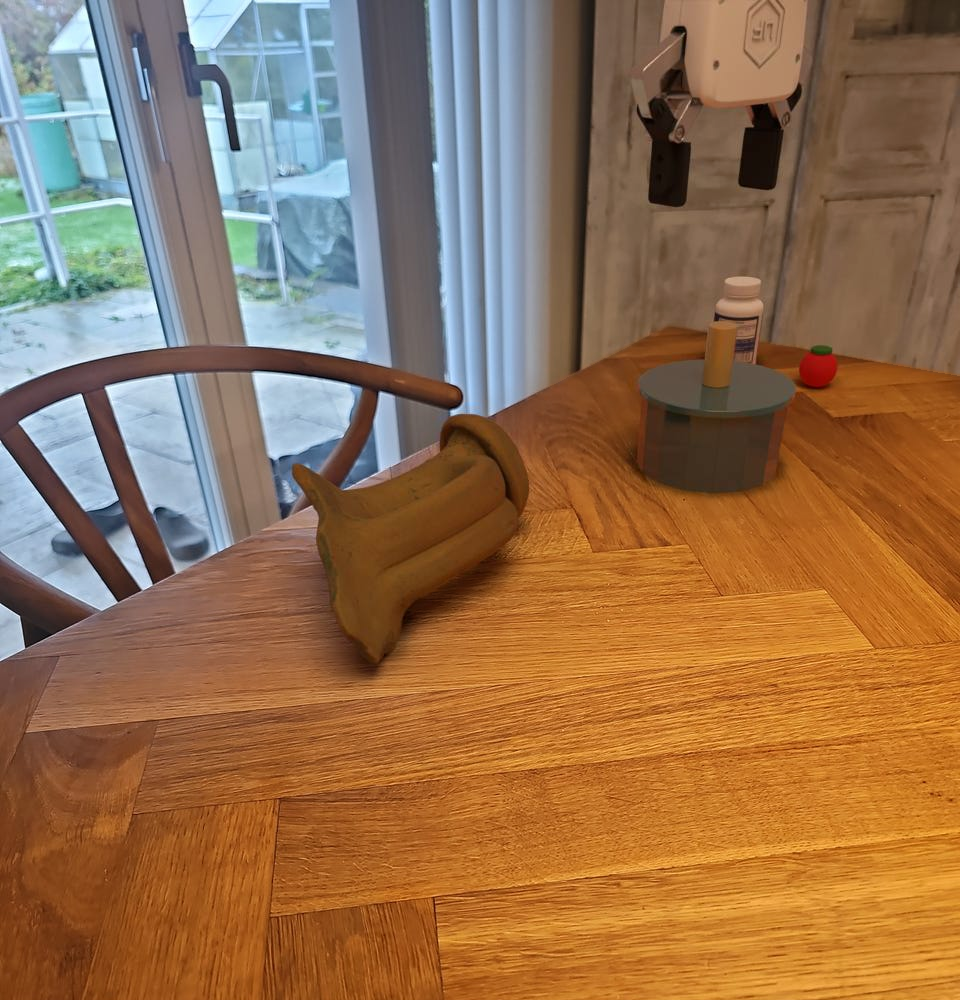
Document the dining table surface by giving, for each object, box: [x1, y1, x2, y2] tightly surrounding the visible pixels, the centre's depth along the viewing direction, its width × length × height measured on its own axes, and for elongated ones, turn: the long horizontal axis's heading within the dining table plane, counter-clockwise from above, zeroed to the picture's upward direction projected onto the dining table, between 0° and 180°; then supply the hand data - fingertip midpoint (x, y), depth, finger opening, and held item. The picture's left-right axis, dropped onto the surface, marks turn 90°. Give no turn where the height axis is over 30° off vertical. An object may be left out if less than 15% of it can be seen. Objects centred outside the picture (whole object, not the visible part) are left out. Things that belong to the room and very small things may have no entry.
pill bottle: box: [713, 276, 765, 365], centre depth 102 cm, size 5×5×10 cm
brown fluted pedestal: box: [291, 413, 530, 664], centre depth 63 cm, size 18×13×22 cm
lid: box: [637, 321, 797, 418], centre depth 75 cm, size 13×13×6 cm
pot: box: [636, 397, 788, 494], centre depth 79 cm, size 12×12×8 cm
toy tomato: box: [798, 344, 839, 388], centre depth 97 cm, size 4×4×4 cm
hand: (712, 196), depth 65 cm, fingers open, 9 cm apart
